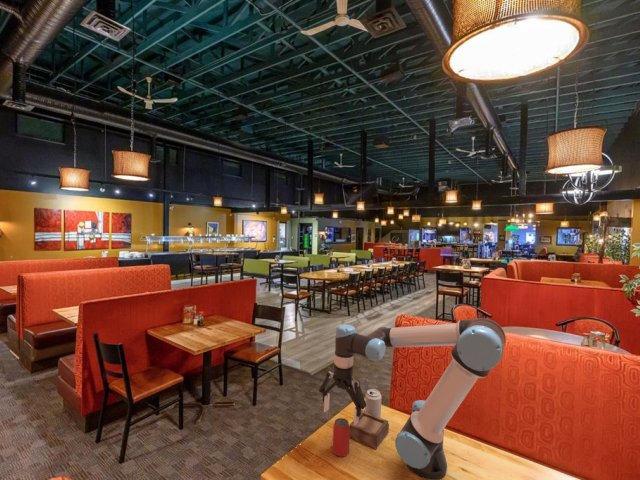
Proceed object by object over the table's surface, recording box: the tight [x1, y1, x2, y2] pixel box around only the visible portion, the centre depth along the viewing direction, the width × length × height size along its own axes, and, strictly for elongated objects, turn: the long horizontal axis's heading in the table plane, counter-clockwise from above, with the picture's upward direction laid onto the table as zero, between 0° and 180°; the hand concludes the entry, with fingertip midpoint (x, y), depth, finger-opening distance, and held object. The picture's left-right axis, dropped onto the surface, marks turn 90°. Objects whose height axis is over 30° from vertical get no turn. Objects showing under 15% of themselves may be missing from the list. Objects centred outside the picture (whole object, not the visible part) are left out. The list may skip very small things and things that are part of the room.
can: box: [364, 388, 382, 418], centre depth 150 cm, size 8×8×12 cm
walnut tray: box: [349, 410, 390, 450], centre depth 137 cm, size 13×13×5 cm
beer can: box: [331, 417, 350, 457], centre depth 125 cm, size 7×7×12 cm
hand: (340, 416), depth 126 cm, fingers open, 13 cm apart
